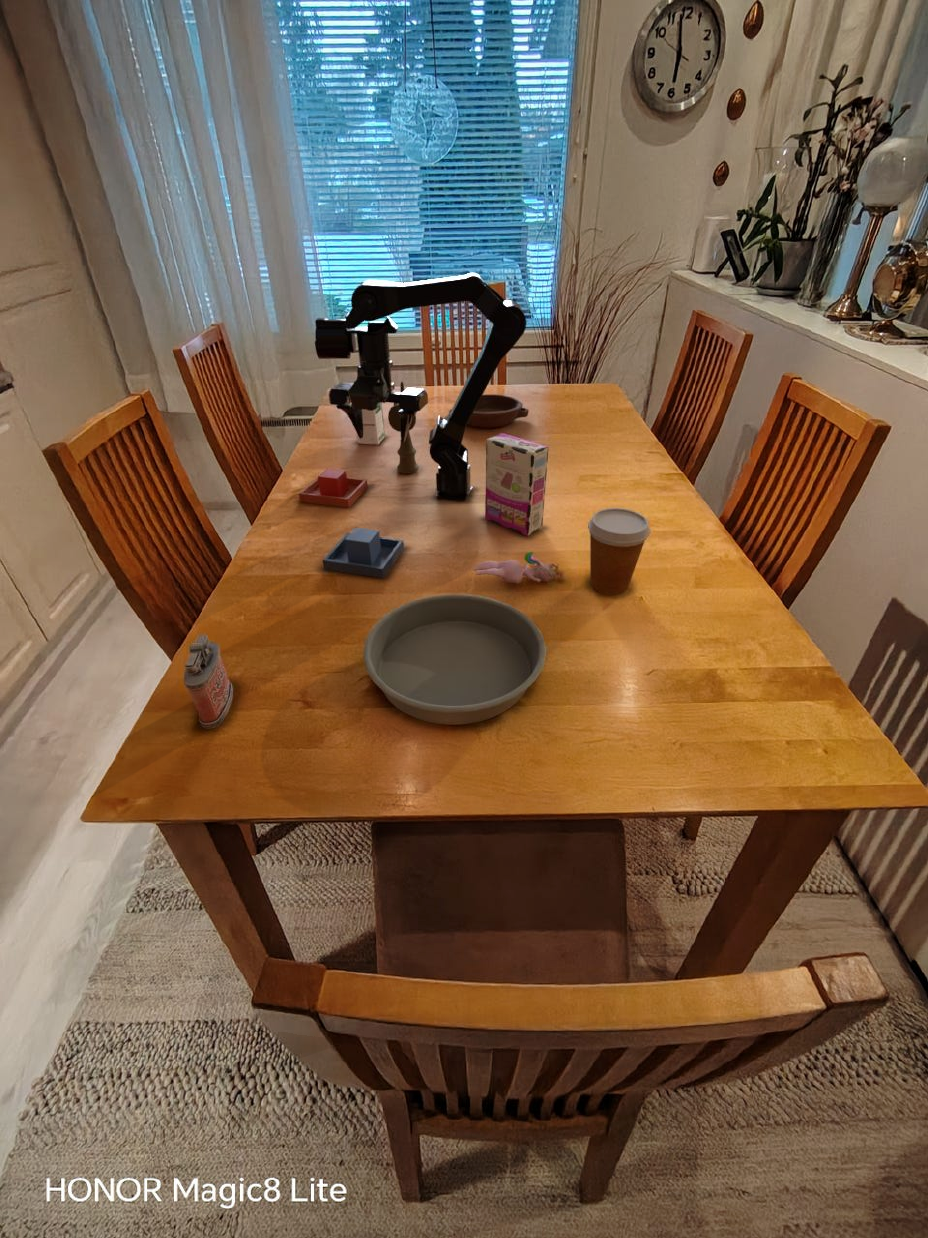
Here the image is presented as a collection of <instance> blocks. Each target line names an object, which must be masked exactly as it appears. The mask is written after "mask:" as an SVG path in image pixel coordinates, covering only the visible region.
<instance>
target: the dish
mask: <svg viewBox="0 0 928 1238" xmlns="http://www.w3.org/2000/svg"><path fill="white" fill-rule="evenodd" d="M523 406H524V404H523V402H522V401H521V400H519V399H517V398H515V397H512V396H509V395H504V394H496V393H494V394H493V393H492V394H491V393H489V394H487V393H486V394H485V393H483V395H482V397H481V399H480V401H479V402H478V404H477V406H476V408H475V410H474V412H473V414H472V416H471V418H470V420H469V421H468V423H467V425H469V426H472V427H476V428H484V429H485V428H486V429H487V428H489V429H490V428H492V429H493V428H499V427H504V426H507V425H509V424H511V423H513V422H514V421H515V420H518V419H521V418H527V417H528V416H529V412H530V411H529V409H528V408H527V407H523ZM451 410H452V408H451V409H449V411H448V414H449V413H450V412H451Z"/></svg>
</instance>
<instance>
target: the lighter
mask: <svg viewBox="0 0 928 1238" xmlns="http://www.w3.org/2000/svg"><path fill="white" fill-rule="evenodd" d="M184 668H185V670H184V674H183V684H184V686H185V688H186V689H187V690H188V692H189V694H190V696H191V699H192V701H193V704H194V707H195V710H196V711H197V713H198V716H199V717H198V721H199V723H200V725H201V727H202V728H204V729H208V730H209V729H214V728H217V727H219V726H220V725H221V724H222V723H223V721H224V720H225V718H226V716H227V715H228V712H229V710H230V708H231V705H232V702H233V697H234V687H233V684H232V682H231V681H230V680H229V677H228V674H227V671H226V668H225V665H224V662H223V659H222V656H221V649H220V646H219V644H218V642H215V641H210V639H209V637H208V635H206V634H200V635H197V637H196V639H195V641H194V642H193V643H190V645H189V655H188V657H187V660H186V661H185V664H184Z"/></svg>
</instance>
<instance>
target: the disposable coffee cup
mask: <svg viewBox="0 0 928 1238" xmlns="http://www.w3.org/2000/svg"><path fill="white" fill-rule="evenodd" d="M587 529H588V532H589V542H590V544H589V545H590V547H589V550H590V553H589V554H590V555H589V556H590V557H589V558H590V559H589V560H590V561H589V562H590V564H589V565H590V566H589V567H590V569H589V571H590V572H589V576H590V577H589V579H590V586H591V588H592V589H594V590H595V591H596V592H598V593H600V594H603V595H609V596H615V595H622V594H624V593H625V592H627V591H628V590H629V586H630V584H631V581H632V578H633V575H634V572H635V569H636V567H637V564H638V561H639V558H640V555H641V553H642V550H643V547H644V544H645V541H646V540H647V539H648V537H649V536H650V534H651V528H650V526H649V521H648V518H647V517H646V516H644V515H643V514H641V513H640V512H638V511H635V510H632V509H629V508H623V507H607V508H603V509H600V510H598V511H597V512H594V514H593V515H592V516H591V519H589V521H588V523H587Z"/></svg>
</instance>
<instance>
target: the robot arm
mask: <svg viewBox="0 0 928 1238" xmlns="http://www.w3.org/2000/svg"><path fill="white" fill-rule="evenodd" d="M461 302H470V303H471V304H472V305H473V306H474V307H475V308H476V309H477V310H478V311H479V312H480V313H481V314H482V315H483V316H484V317H485V318H486V319H487V320H488V321H489V325H488V328H487V331H486V336H485V338H484V339H485V340H484V342H483V346H482V349H481V351H480V353H479V355H478V357H477V359H476V360H475V363H474V365H473V366H472V368H471V371H470V373H469V375H468V376H467V379H466V381H465V383H464V385H463V387H462V388H461V390H460V392H459V395H458V397H456V398H457V399H456V400H455V402H454V404H453V406H452V408H451V409H452V410H451V409H450V410H451V412H450V413H449V412H448V414H447V415H446V416H445V417H442V416H441V415H438V416H437V418H436V422H435V425H434V426H433V428H432V429H430V431H429V436H428V437H429V438H428V444H430V445H429V455H430V458H431V459H432V461H433V462H434V463H436V464H438V467H437V472H436V473H435V483H436V485H435V486H436V488H435V489H436V492H437V494H436V495H435V496H436V498H437V499H445V500H451V501H452V500H453V501H461V502H464V501H466V500H468V497H469V496H470V494H471V493H472V491H473V489H474V488H473V486H472V485H471V464H469V449H468V448H467V447H466V445H464V444H462V443H463V439H464V436H465V432H466V428H467V425H468V424H467V423H468V421H469V420H470V418H471V416H472V414H473V412H474V410H475V408H476V406H477V404H478V402H479V401H480V399H481V397H482V395H484V394H485V392H486V389H487V387H488V385H489V383H490V382H491V379H492V378H493V376H494V374H495V372H496V370H497V368H498V366H499V364H500V363H501V362H502V360H503V358H505V356H506V355H508V353H510V351H511V350H512V349H513V348H514V347H515V346H516V344H517V343H518V341H520V339H521V337H522V336H523V335H524V333H525V331H526V328H527V319H526V315H525V312H524V310H523V308H522V307H521V305H520V304H519V303H518V302H517V301H515V300H511V299H505V298H504V297H503V296H502V295H501V294H500V293H499V292H497V291H496V290H495V289H494V288H493V287H491V286H490V285H489V284H488V283H487V282H485V280H483V278H482V277H481V276H480V275H479V274H478V273H476V272H469V273H467V274H464V275H458V276H449V277H443V278H434V279H427V280H419V281H412V282H404V283H403V282H395V281H389V280H377V279H367V280H364V281H362V282H361V283H359V285H358V286H357V287H355V289H354V291H353V292H352V294H351V298H350V303H351V304H350V306H351V309H350V310H349V311H348V313H347V314H346V315H345V316H344V318H327V317H317V319H315V322H314V323H315V334H314V335H315V337H314V338H315V340H314V348H315V352H316V355H317V358H318V359H319V360H349V359H351V355H352V354H356V352H357V351H356V349H357V350H358V359H359V361H358V362H359V365H358V366H357V367H356V369H357V370H356V374H357V376H356V380H355V381H353V383H352V382H339V383H338V384H336V385H335V386H333V387H331V388H330V389H329V391H328V403H329V404H330V405H332V406H333V405H334V406H335V407H336V409H337V410H341V411H342V412H344V413H345V414H346V415H347V417H348V418H349V420H350V422H351V424H352V426H353V428H354V430H355V432H357V433H356V435H357V434H358V436H359V438H363V417H362V409H365V410H368V411H373V410H375V409H376V408H377V405H378V404H379V403H382V404H386V403H390V404H391V403H392V404H394V403H399V407H400V408H401V410H400V411H399V412H398V413H399V416H400V419H401V432H400V442H401V441H402V443H404V442H405V440H406V437H407V433H408V430H409V427H410V424H411V421H412V418H413V416H414V414H415V413H416V412H420V411H421V410H422V409H423V408H425V407H426V405H428V404H429V395H428V393H427V391H426V389H425V388H416V387H407V388H405V389H404V391H403V392H402V393H401V392H395V391H394V390H395V387H396V386H395V383H394V382H393V381H392V380H393V379H392V368H393V367H394V361H393V360H391V355H390V354H391V353H390V341H389V334H396V333H397V332H398V329H399V326H398V324H396V323H395V322H394V321H393V320H392V319H391V317H390V316H391V315H393V314H396V313H398V312H401V311H404V310H406V309H407V310H409V309H416V308H422V307H430V306H431V307H432V306H438V305H447V304H454V303H461ZM383 318H385V320H383V321H377V320H380V319H383ZM364 322H367V326H360V325H361V324H362V323H364ZM356 340H357V343H356ZM416 414H417V413H416Z"/></svg>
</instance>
